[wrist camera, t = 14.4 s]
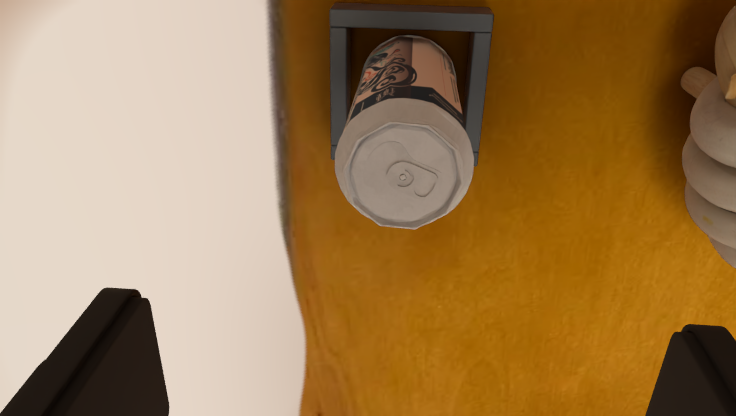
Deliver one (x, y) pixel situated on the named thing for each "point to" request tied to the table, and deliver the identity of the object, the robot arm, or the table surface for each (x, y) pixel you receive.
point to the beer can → (405, 137)
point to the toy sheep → (714, 144)
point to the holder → (413, 19)
